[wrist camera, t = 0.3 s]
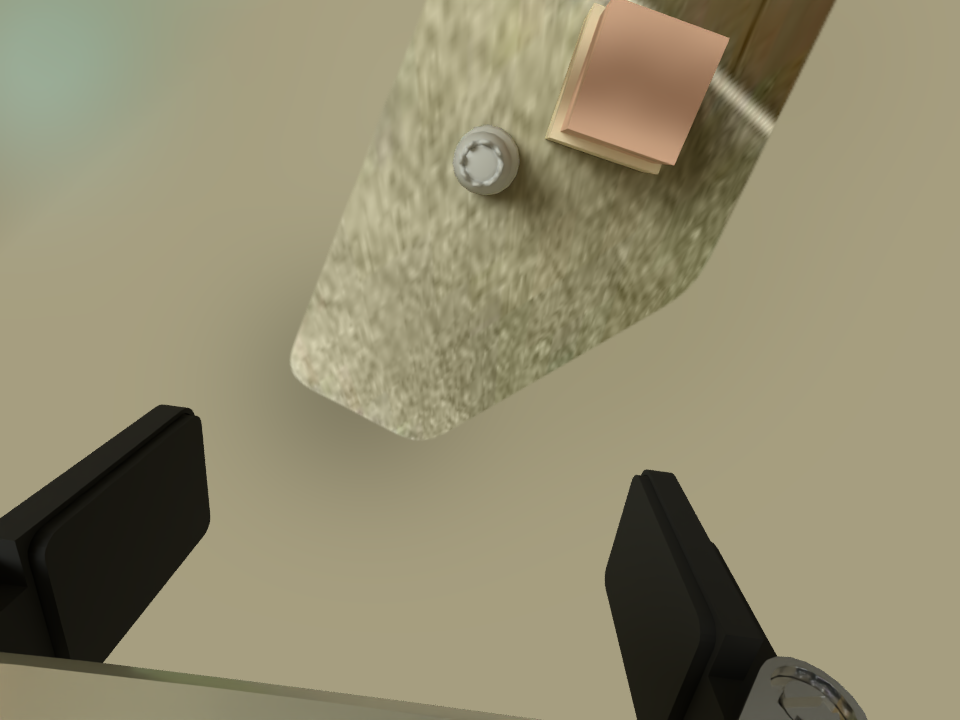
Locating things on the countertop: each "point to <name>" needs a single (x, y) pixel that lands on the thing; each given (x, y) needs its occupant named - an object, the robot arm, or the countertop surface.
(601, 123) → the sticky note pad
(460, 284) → the countertop surface
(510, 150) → the rook chess piece
